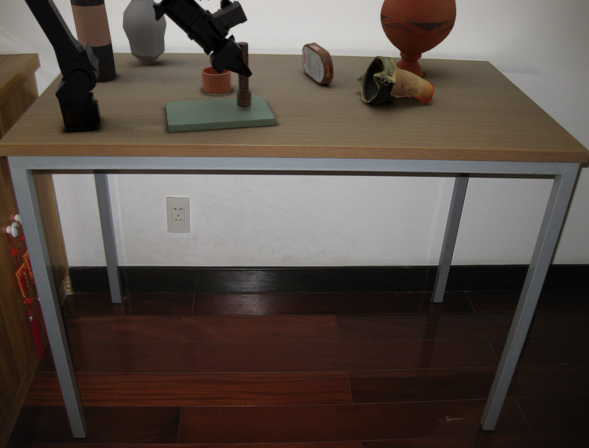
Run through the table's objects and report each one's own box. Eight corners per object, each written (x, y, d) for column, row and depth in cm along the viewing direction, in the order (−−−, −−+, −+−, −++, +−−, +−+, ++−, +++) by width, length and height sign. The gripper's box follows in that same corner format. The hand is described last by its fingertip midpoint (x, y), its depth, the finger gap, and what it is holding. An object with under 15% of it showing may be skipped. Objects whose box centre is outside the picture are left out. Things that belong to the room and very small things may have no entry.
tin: (333, 88, 126) (336, 54, 121) (321, 89, 124) (324, 55, 120) (310, 70, 137) (311, 38, 132) (299, 71, 136) (300, 39, 131)
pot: (456, 72, 110) (385, 46, 104) (439, 122, 112) (369, 100, 106) (417, 73, 126) (355, 51, 120) (403, 117, 128) (341, 97, 122)
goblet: (450, 86, 130) (473, -19, 116) (377, 83, 130) (391, -22, 115) (435, 64, 145) (453, -31, 131) (369, 61, 145) (381, -34, 131)
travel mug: (108, 83, 122) (92, -5, 111) (79, 80, 123) (61, -7, 112) (123, 74, 128) (109, -10, 117) (95, 71, 129) (79, -13, 118)
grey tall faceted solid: (172, 69, 133) (159, -59, 116) (128, 71, 131) (108, -60, 114) (169, 57, 142) (157, -64, 125) (128, 58, 140) (110, -64, 123)
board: (168, 132, 100) (168, 125, 99) (166, 108, 110) (165, 101, 110) (275, 125, 105) (275, 118, 104) (263, 102, 115) (263, 96, 115)
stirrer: (234, 106, 107) (232, 44, 99) (239, 101, 109) (237, 40, 102) (248, 108, 106) (247, 46, 99) (253, 103, 109) (252, 42, 101)
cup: (204, 96, 117) (202, 75, 114) (201, 86, 123) (200, 66, 120) (233, 95, 119) (232, 74, 116) (229, 85, 124) (228, 65, 121)
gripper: (227, -4, 86) (287, 58, 95) (214, -22, 101) (267, 33, 110) (185, 44, 89) (247, 100, 98) (179, 20, 104) (233, 70, 112)
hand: (249, 73), depth 104 cm, fingers closed on stirrer, 2 cm apart
